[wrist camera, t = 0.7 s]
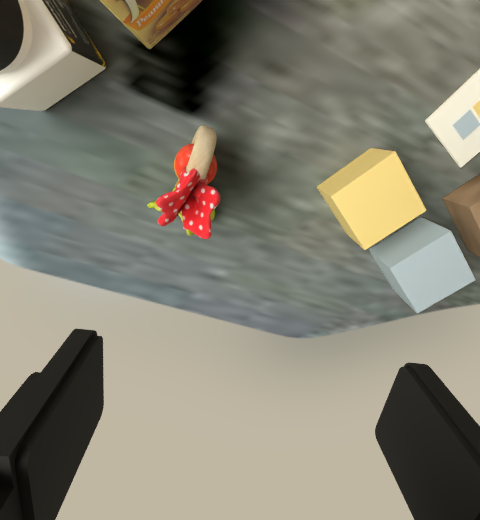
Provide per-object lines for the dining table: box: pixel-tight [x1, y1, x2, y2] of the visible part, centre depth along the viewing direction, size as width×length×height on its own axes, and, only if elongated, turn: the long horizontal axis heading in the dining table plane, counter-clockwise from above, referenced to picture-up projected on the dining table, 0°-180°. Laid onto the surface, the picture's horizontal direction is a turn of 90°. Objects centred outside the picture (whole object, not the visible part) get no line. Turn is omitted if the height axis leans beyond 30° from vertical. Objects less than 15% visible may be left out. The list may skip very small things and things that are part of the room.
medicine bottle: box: [0, 0, 106, 111], centre depth 21 cm, size 7×7×12 cm
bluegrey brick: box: [369, 217, 475, 313], centre depth 33 cm, size 6×6×5 cm
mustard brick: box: [317, 148, 426, 250], centre depth 30 cm, size 6×6×5 cm
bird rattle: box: [147, 125, 220, 239], centre depth 27 cm, size 6×11×9 cm
